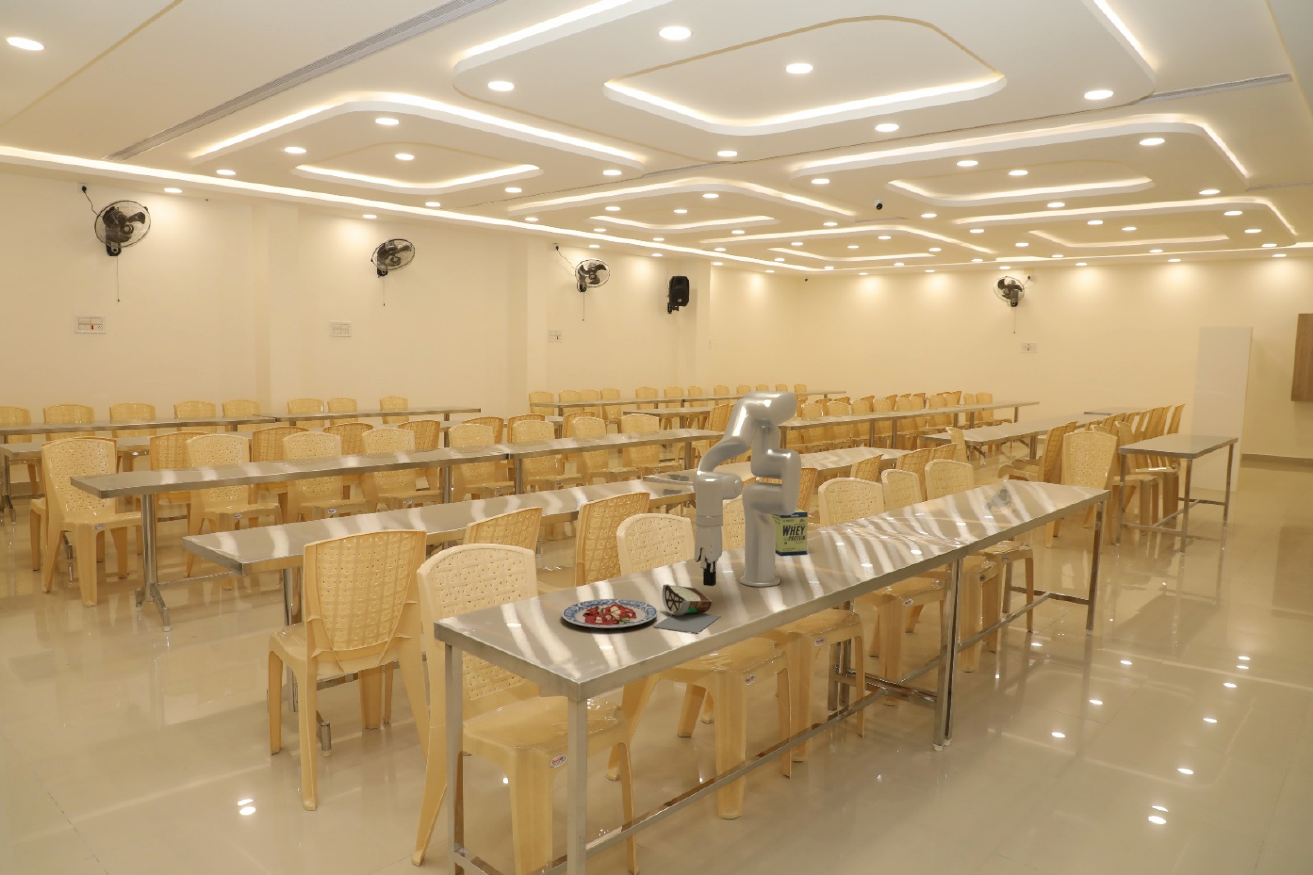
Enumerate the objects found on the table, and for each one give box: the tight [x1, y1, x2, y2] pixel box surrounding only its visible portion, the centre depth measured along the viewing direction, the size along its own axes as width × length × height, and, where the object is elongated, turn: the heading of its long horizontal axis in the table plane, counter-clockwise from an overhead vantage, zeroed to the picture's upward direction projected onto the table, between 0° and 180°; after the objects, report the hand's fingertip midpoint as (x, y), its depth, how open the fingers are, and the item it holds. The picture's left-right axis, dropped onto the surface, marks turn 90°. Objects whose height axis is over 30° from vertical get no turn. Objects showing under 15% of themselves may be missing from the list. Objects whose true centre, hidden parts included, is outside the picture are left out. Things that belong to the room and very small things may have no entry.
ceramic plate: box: [561, 598, 659, 630], centre depth 230 cm, size 26×26×3 cm
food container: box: [661, 584, 713, 616], centre depth 234 cm, size 12×6×10 cm
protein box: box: [770, 507, 808, 557], centre depth 312 cm, size 10×16×16 cm
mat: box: [653, 613, 721, 634], centre depth 227 cm, size 16×12×1 cm
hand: (709, 585), depth 239 cm, fingers closed
